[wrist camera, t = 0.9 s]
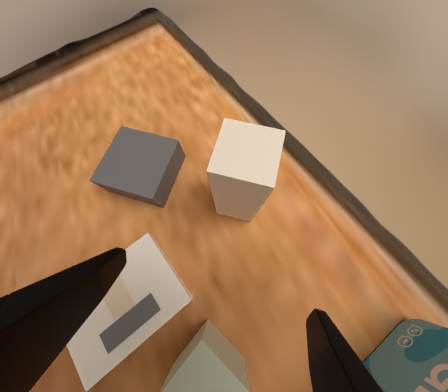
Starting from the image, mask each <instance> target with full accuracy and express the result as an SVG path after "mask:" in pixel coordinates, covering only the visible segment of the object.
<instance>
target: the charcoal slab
mask: <svg viewBox="0 0 448 392" xmlns="http://www.w3.org/2000/svg"><path fill="white" fill-rule="evenodd" d="M184 158H185V154H184V152H183V150H182V147H181V145H180V143H179V140H175V139H171V138H167V137H163V136H159V135H155V134H151V133H147V132H143V131H139V130H135V129H131V128H127V127H123V126H121V127H120V129H119V131H118V132H117V134H116V136H115V138H114V139H113V141H112V143H111V144H110V146H109V148H108V150H107V151H106V153H105V155H104V156H103V158H102V160H101V162H100V163H99V165H98V167H97V168H96V170H95V172H94V174H93V175H92V177H91V179H90V180H89V181H91V182H93V183H95V184H97V185H98V186H100V187H102V188H104V189H106V190H108V191H110V192H113V193H116V194H120V195H123V196H126V197H130V198H133V199H137V200H140V201H143V202H147V203H150V204H153V205H157V206H160V207H163V208H164V206H165V204H166V201H167V199H168V197H169V194H170V192H171V189H172V187H173V185H174V182H175V180H176V177H177V175H178V173H179V170H180V168H181V166H182V163H183V161H184Z"/></svg>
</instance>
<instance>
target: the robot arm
mask: <svg viewBox="0 0 448 392" xmlns="http://www.w3.org/2000/svg"><path fill="white" fill-rule="evenodd" d="M126 262H127V258H126V250H125V249H122V248H119V247H117V248H114V249H111V250H109V251H107V252H104V253H102V254H100V255H98V256H95V257H93V258H91V259H88V260H86V261H84V262H81V263H79V264H77V265H75V266H72V267H70V268H68V269H65V270H63V271H61V272H58V273H56V274H54V275H52V276H49V277H47V278H45V279H42V280H40V281H38V282H35V283H33V284H31V285H28V286H26V287H24V288H22V289H19V290H17V291H15V292H12V293H10V295H5V296H3V297H1V298H0V392H29V391H30V390H31V389H32V387H33V386H34V385H35V384H36V382H37V381H38V380H39V379H40V377H41V376H42V375H43V374H44V372H45V371H46V370H47V369H48V367H49V366H50V365H51V364H52V362H53V361H54V360H55V359H56V357H57V356H58V355H59V354H60V352H61V351H62V350H63V349H64V347H65V346H66V345H67V344H68V342H69V341H70V340H71V339H72V337H73V336H74V335H75V334H76V332H77V331H78V330H79V329H80V327H81V326H82V325H83V324H84V322H85V321H86V320H87V319H88V317H89V316H90V315H91V314H92V312H93V311H94V310H95V309H96V307H97V306H98V305H99V304H100V302H101V301H102V300H103V298H104V297H105V296H106V294H107V293H108V291H109V290H110V288H111V287H112V285H113V284H114V282H115V281H116V279H117V278H118V276H119V275H120V273H121V272H122V270H123V269H124V267H125V265H126ZM306 330H307V345H308V360H309V369H310V376H311V383H312V389H313V392H383V390H382V389H381V388H380V386H379V385H378V384H377V382H376V381H375V379H374V378H373V377H372V375H371V374H370V373H369V371H368V370H367V368H366V367H365V366H364V364H363V363H362V362H361V360H360V359H359V357H358V356H357V355H356V353H355V352H354V350H353V349H352V348H351V346H350V345H349V344H348V342H347V341H346V339H345V338H344V337H343V335H342V334H341V333H340V331H339V330H338V328H337V327H336V326H335V324H334V323H333V322H332V320H331V319H330V317H329V316H328V315H327V313H326V312H324V311H322V310H319V309H314V310H313V311H312V312H311V314H310V315H309V317H308V318H307V321H306Z"/></svg>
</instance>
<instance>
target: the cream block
mask: <svg viewBox="0 0 448 392" xmlns="http://www.w3.org/2000/svg"><path fill="white" fill-rule="evenodd" d="M284 136H285V131H284V130H280V129H275V128H270V127H265V126H261V125H256V124H251V123H246V122H242V121H237V120H232V119H227V118H224V121H223V124H222V127H221V130H220V133H219V136H218V139H217V142H216V145H215V148H214V151H213V154H212V157H211V159H210V162H209V165H208V168H207V175H208V180H209V184H210V188H211V192H212V196H213V200H214V204H215V208H216V212H217V213H218V214H221V215H225V216H229V217H233V218H236V219H240V220H244V221H248V222H250V221H251V220H252V219H253V217H254V216H255V214H256V213H257V212H258V210H259V209H260V207H261V206H262V205H263V203H264V202H265V200H266V199H267V198H268V196H269V195H270V193H271V192H272V191H273V189H274V187H275V182H276V177H277V172H278V167H279V162H280V157H281V152H282V147H283V142H284Z"/></svg>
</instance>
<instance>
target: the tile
mask: <svg viewBox="0 0 448 392" xmlns="http://www.w3.org/2000/svg"><path fill="white" fill-rule="evenodd" d="M125 250H126V258H127V262H126V265H125V267H124V269H123V270H122V272H121V273H120V275H119V276H118V278H117V279H116V281H115V282H114V284H113V285H112V287H111V288H110V290H109V291H108V293H107V294H106V296H105V297H104V298H103V300H102V301H101V302H100V304H99V305H98V306H97V307H96V309H95V310H94V311H93V312H92V314H91V315H90V316H89V317H88V319H87V320H86V321H85V322H84V324H83V325H82V326H81V327H80V329H79V330H78V331H77V332H76V334H75V335H74V336H73V337H72V339H71V340H70V341H69V342H68V344H67V348H68V350H69V353H70V355H71V357H72V360H73V362H74V365H75V367H76V370H77V372H78V374H79V377H80V379H81V382H82V384H83V387H84V389H85V391H86V392H87V391H88V390H89V389H90V388H91V387H92V386H93V385H95V384H96V383H97V382H98V381H99V380H100V379H102V378H103V377H104V376H105V375H106V374H107V373H108V372H110V371H111V370H112V369H113V368H114V367H115V366H117V365H118V364H119V363H120V362H121V361H122V360H123V359H125V358H126V357H127V356H128V355H129V354H130V353H131V352H133V351H134V350H135V349H136V348H137V347H138V346H140V345H141V344H142V343H143V342H144V341H145V340H146V339H148V338H149V337H150V336H151V335H152V334H153V333H155V332H156V331H157V330H158V329H159V328H160V327H161V326H163V325H164V324H165V323H166V322H167V321H168V320H169V319H171V318H172V317H173V316H174V315H175V314H176V313H178V312H179V311H180V310H181V309H182V308H183V307H184V306H186V305H187V304H188V303H189V302H190V301H191V300H192V299H193V298H194V297H193V296H192V294H191V293H190V291H189V290H188V288H187V287H186V285H185V284H184V282H183V281H182V279H181V278H180V276H179V274H178V273H177V271H176V270H175V268H174V267H173V265H172V264H171V262H170V261H169V259H168V258H167V256H166V255H165V253H164V252H163V250H162V249H161V247H160V245H159V244H158V242H157V241H156V239H155V238H154V236H153V235H152V234H151V233H147V234H145V235H144V236H143V237H141V238H140V239H139V240H137V241H136V242H134V243H133V244H132V245H130V246H129V247H128V248H126V249H125Z"/></svg>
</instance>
